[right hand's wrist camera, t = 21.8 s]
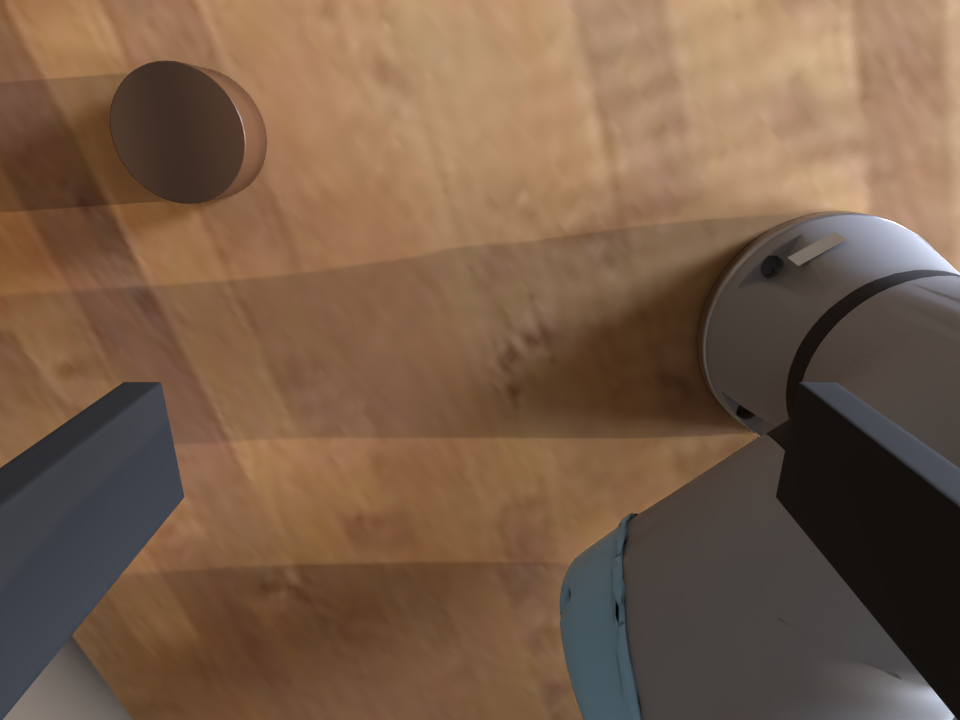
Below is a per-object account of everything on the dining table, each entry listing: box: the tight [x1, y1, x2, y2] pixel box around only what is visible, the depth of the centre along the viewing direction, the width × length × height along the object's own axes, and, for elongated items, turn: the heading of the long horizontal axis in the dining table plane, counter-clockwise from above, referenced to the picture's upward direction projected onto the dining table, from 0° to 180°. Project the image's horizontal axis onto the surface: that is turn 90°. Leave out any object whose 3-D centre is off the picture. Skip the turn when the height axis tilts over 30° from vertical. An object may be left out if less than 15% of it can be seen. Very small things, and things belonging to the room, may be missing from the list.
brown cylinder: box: [110, 61, 267, 204], centre depth 34 cm, size 7×7×4 cm
